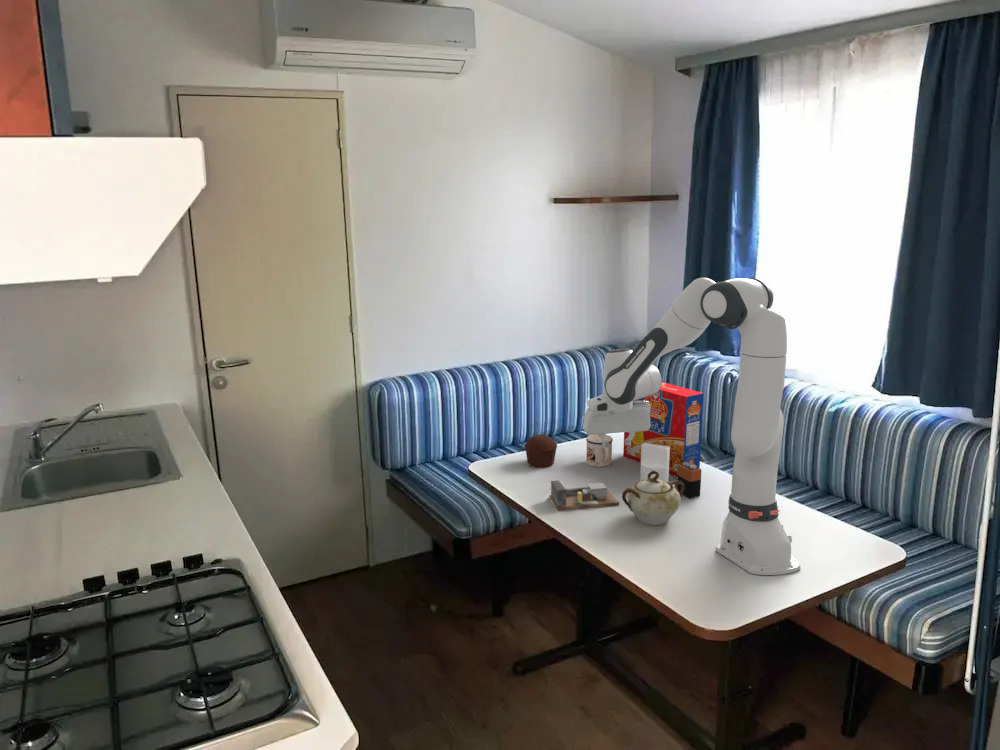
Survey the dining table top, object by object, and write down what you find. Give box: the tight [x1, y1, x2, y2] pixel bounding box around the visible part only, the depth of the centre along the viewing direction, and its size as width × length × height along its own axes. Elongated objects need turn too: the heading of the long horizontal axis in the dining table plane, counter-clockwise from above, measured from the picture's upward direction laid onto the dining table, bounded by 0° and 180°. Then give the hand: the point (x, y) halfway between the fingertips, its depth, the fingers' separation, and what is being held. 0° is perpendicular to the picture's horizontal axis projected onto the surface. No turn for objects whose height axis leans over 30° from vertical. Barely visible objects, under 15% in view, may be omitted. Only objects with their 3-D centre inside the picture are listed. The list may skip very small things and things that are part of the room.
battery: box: [676, 462, 702, 499], centre depth 250 cm, size 4×7×10 cm, turn 25°
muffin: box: [524, 434, 558, 469], centre depth 279 cm, size 12×11×10 cm
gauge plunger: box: [582, 482, 608, 500], centre depth 245 cm, size 7×7×4 cm
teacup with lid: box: [585, 433, 614, 468], centre depth 277 cm, size 12×9×12 cm
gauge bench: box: [548, 480, 620, 511], centre depth 246 cm, size 19×10×6 cm, turn 101°
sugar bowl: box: [621, 471, 685, 526], centre depth 231 cm, size 20×15×15 cm
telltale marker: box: [577, 492, 582, 503], centre depth 241 cm, size 1×2×3 cm, turn 11°
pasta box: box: [623, 381, 705, 478], centre depth 274 cm, size 28×8×28 cm, turn 35°
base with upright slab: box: [639, 443, 670, 483], centre depth 261 cm, size 9×9×12 cm
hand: (616, 446), depth 244 cm, fingers open, 6 cm apart
